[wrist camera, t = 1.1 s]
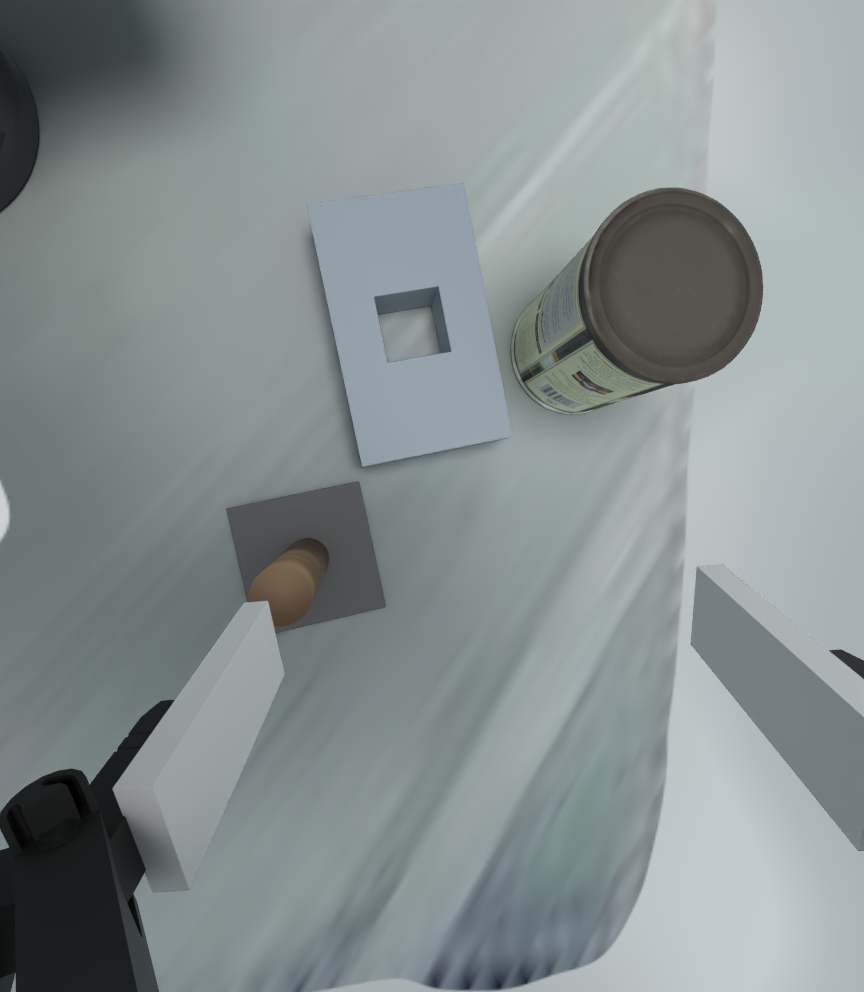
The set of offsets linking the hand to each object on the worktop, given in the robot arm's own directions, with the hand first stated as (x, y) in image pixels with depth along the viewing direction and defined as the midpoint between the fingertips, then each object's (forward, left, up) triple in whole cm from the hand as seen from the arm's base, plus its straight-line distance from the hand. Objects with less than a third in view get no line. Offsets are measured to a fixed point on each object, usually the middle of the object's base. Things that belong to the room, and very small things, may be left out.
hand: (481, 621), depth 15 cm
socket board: (-15, +3, -24) cm, 29 cm away
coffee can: (-12, +16, -24) cm, 31 cm away
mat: (0, -8, -24) cm, 26 cm away
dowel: (0, -8, -24) cm, 25 cm away
